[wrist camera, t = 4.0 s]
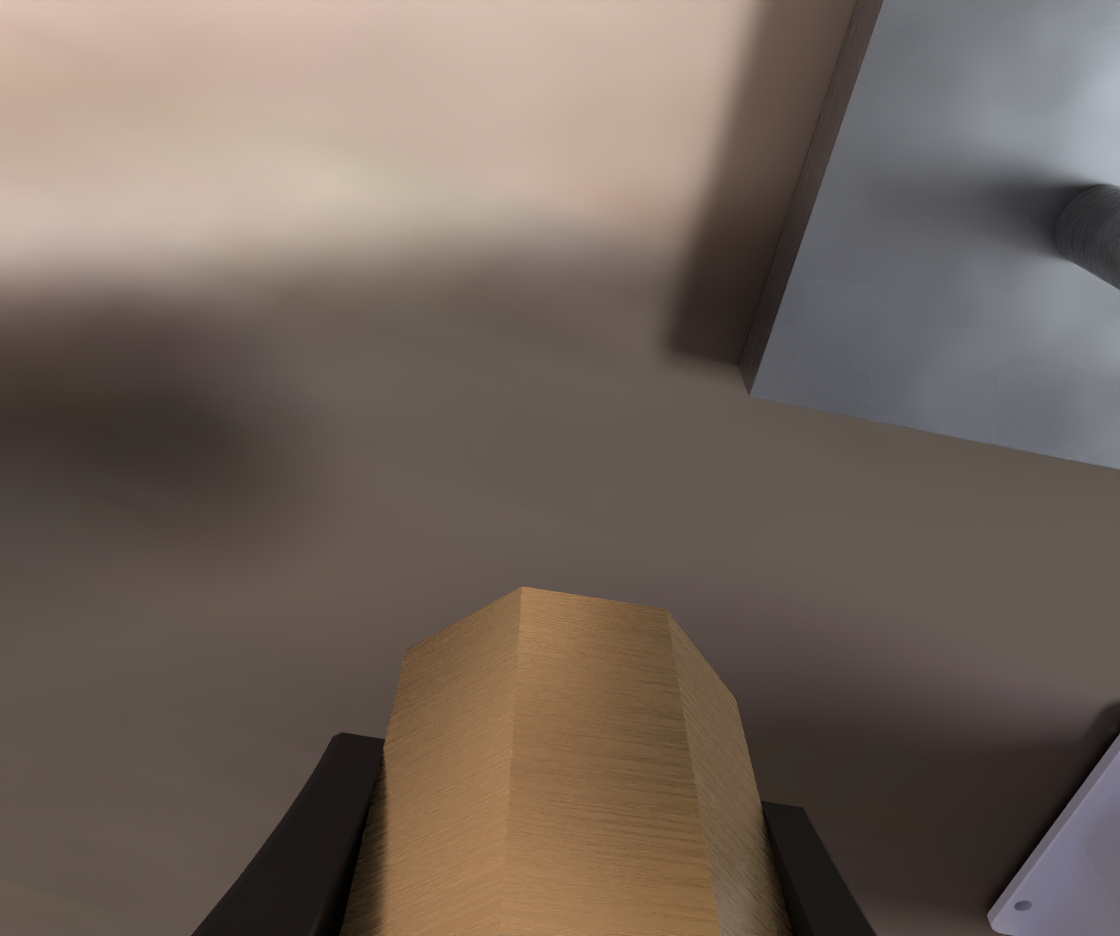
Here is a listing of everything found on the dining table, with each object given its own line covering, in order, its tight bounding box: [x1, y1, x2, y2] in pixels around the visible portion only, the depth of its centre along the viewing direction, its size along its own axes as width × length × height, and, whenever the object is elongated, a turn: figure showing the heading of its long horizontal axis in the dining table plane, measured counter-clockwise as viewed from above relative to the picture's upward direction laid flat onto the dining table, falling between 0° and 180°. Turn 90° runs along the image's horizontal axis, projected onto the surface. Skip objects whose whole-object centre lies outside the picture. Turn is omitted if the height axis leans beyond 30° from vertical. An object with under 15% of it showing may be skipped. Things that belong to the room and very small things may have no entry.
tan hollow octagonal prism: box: [340, 587, 793, 936], centre depth 11 cm, size 5×5×5 cm
